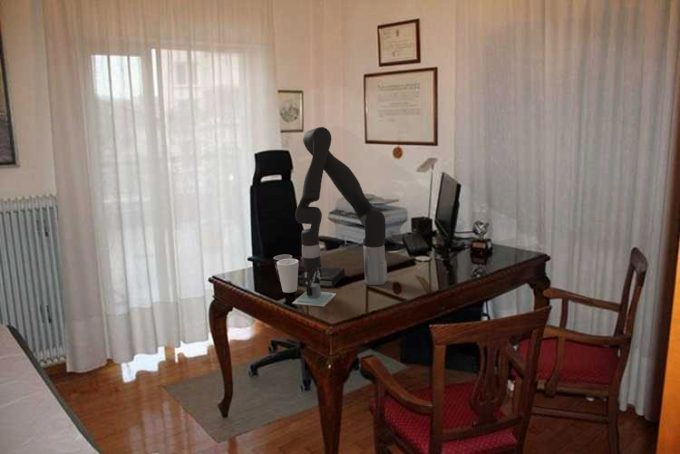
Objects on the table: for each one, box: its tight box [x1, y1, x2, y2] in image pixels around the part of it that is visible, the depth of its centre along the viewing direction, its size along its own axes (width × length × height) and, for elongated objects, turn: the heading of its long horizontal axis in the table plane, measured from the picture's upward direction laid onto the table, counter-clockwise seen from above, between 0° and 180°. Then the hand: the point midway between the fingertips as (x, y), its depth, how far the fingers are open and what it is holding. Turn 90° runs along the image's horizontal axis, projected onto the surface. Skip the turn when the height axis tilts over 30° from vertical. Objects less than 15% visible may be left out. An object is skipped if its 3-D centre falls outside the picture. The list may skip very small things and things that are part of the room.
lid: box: [297, 283, 333, 304], centre depth 235 cm, size 11×11×6 cm
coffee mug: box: [273, 254, 293, 280], centre depth 266 cm, size 12×9×10 cm
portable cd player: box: [297, 266, 346, 288], centre depth 259 cm, size 16×17×4 cm
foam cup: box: [277, 258, 300, 294], centre depth 247 cm, size 10×9×13 cm
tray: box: [291, 290, 337, 307], centre depth 236 cm, size 14×14×1 cm
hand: (313, 292), depth 235 cm, fingers open, 8 cm apart
